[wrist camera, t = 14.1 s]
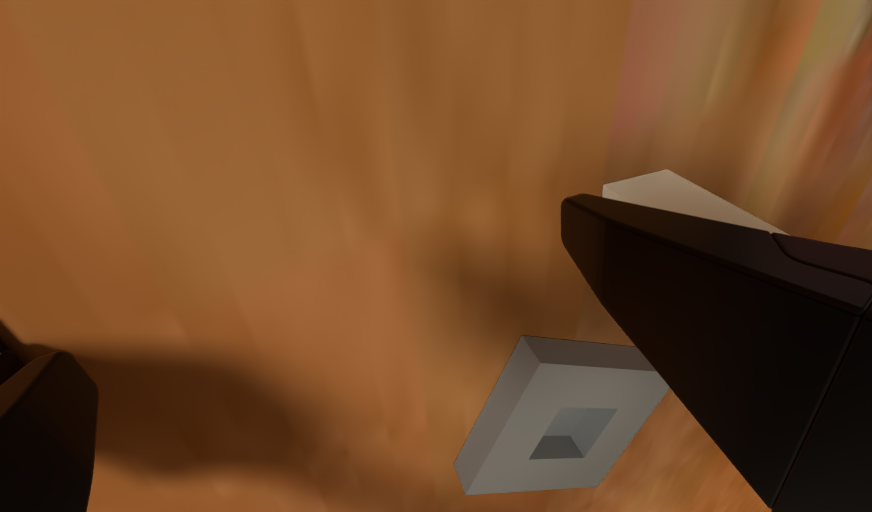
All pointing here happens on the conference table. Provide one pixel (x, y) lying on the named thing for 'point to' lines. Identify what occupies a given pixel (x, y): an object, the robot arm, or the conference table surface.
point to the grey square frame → (558, 416)
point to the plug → (681, 199)
